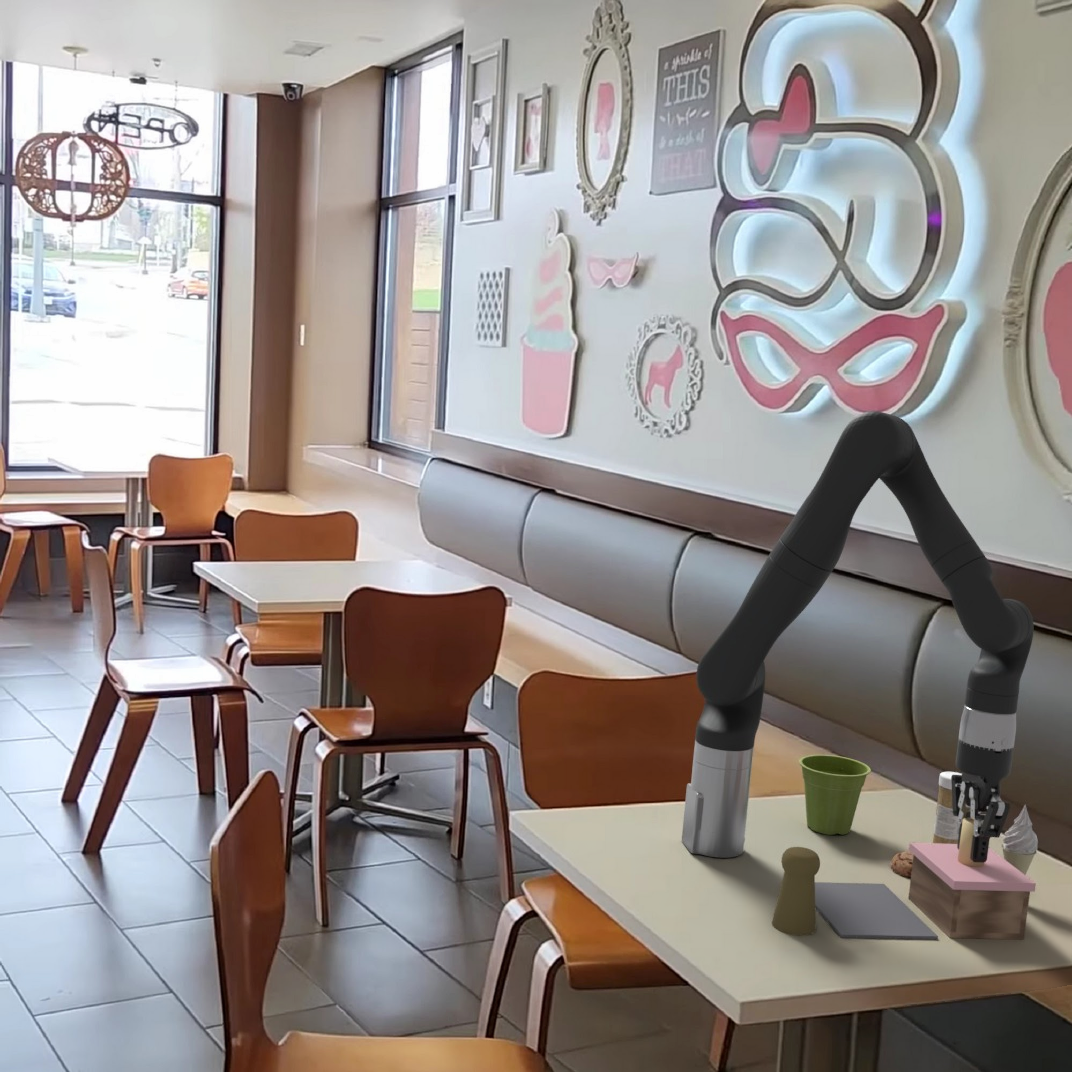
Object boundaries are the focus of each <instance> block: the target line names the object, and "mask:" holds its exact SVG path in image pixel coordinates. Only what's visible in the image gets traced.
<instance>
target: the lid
mask: <svg viewBox="0 0 1072 1072" xmlns="http://www.w3.org/2000/svg"><path fill="white" fill-rule="evenodd" d="M983 821H984V820H982V821H981V826H982V824H983ZM973 835H974V820H973V819H972V818H964V819H963V821H962V829H961V837H960V845H959V849H958V848H957V844H940V843H933V842H932V843H931V842H909V845H908V851H910V852H911V853H912V854H913V855H915V856H916V857H917V858H918V859H919V860H920V861H921V862H923V863H924V864H925V865H926V866H927V867H928V868H929V869H930V870H932V871H933V872H934V873H935V874H936V875H937V876H938V877H940V878H941V879H942V880H943V881H944V882H945V883H946V884H948V885H949V886H950V887H951V888H952V889H953V890H990V891H1029V892H1030V893H1031V892H1032V893H1033V892H1035V891H1036V884H1037V883H1036V882H1035V881H1034V880H1032V879H1031V878H1030V877H1028V876H1027V874H1026V875H1024V874H1023V873H1022V872H1020V871H1019V870H1018V869H1016V868H1015V867H1014V866H1013V865H1011V864H1010V863H1009V862H1007V861H1006V860H1005V859H1004V857H1002V856H1001V855H999V854H998V853H997V852H996V851H994V850H993V849H992V848H990V846H989V847H988V855H987V861H986V862H984V863H982V862H973V861H972V860H971V859H970V855H971V847H972V839H973Z"/></svg>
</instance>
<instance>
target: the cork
mask: <svg viewBox="0 0 1072 1072" xmlns="http://www.w3.org/2000/svg"><path fill="white" fill-rule="evenodd" d="M781 866H782V869H783V871H784V872H783V876H782V880H781V885H780V888H779V892H778V896H777V900H776V904H775V907H774V912H773V916H772V920H771V926H772V927H773V928H775V929H776V930H778V931H779V932H781V933H785V934H788V935H793V936H809V935H812V934H814V933H816V932H817V919H816V918H817V917H816V908H815V882H816V881H815V879H816V878H815V877H816V875H817V874H818V873H819V870H820V867H821V861H820V857H819V854H818V853H817V852H816V851H814V850H812V849H810V848H807V847H803V846H790V847H788V848H786V849H785V851H784V852H783V853H782V855H781Z"/></svg>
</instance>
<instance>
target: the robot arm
mask: <svg viewBox="0 0 1072 1072" xmlns="http://www.w3.org/2000/svg"><path fill="white" fill-rule="evenodd" d="M879 479H880V480H881V482H882V483H883V484H884V485H885V486H886V487H887V488H888V490H889V491H891V493H892V494H893V495H894V497H895V498H896V500H897V501H898V502H899V504H900V505H901V507H902V508H903V510H904V513H905V514H906V516H907V519H908V521H909V523H910V525H911V528H912V530H913V533H914V535H915V539H916V541H917V542H918V543H917V544H918V545H919V547H920V549H921V551H922V554H923V555H924V557H925V559H926V560H927V562H928V564H929V565H930V567H931V569H933V571H934V573H935V574H936V575H937V577H938V579H939V580H940V582H941V583H942V584H943V586H944V588H945V589H946V591H947V592H948V593H949V596H950V598H951V603H952V605H953V607H954V611H955V612H956V615H957V617H958V619H959V622H960V623H961V626H962V628H963V631H965V633H966V635H967V636H968V638H969V639H970V641H972V642H973V644H974V645H976V646H977V647H978V648H979V649H980V654H979V658H978V661H977V663H976V664H975V665H974V666H973V667H971V669H970V672H969V673H968V677H967V682H966V692H965V698H964V707H963V710H962V714H961V718H960V724H959V733H958V740H957V746H956V747H957V749H956V755H955V764H954V765H955V767H956V769H958V771H960V772H962V773H961V774H962V775H952V777H951V783H952V806H953V815H954V816H957V817H958V824H959V825H960V828H959V836H958V844H957V848H958V849H959V845H960V837H961V829H962V821H963V819H964V818H972V819H973V820H974V835H973V839H972V847H971V855H970V859H971V860H972V861H973V862H982V863H984V862H986V861H987V855H988V847H989V848H990V839H991V838H1000V837H1001V834H1002V831H1003V828H1004V825H1005V823H1006V820H1007V818H1008V815H1009V812H1010V809H1011V805H1010V802H1008V801H1003V800H1002V799H1001V792H1002V791H1001V781H1002V779H1004V778H1007V777H1009V776H1010V775H1011V772H1012V771H1011V770H1012V764H1013V757H1014V749H1015V741H1016V733H1017V709H1018V701H1019V695H1020V694H1019V693H1020V682H1021V678H1022V676H1023V672H1024V671H1025V667H1026V665H1027V664H1026V663H1027V661H1028V657H1029V653H1030V651H1031V647H1032V643H1033V638H1034V628H1035V627H1034V626H1035V625H1034V619H1033V615H1032V613H1031V611H1030V609H1029V608H1028V607H1027V605H1025V604H1024V603H1023V602H1021V601H1019V600H1016V599H1012V598H1003V599H1002V598H1001V595H1000V594H999V592H998V590H997V588H996V587H995V585H994V583H993V581H992V580H993V577H994V569H993V566H992V565H991V562H990V561H989V559H987V557H986V555H985V554H984V552H983V550H982V549H981V548H980V547H979V545H978V543H977V542H976V540H975V539H974V537H973V536H972V534H971V533H970V531H969V530H968V529H967V527H966V526H965V525H964V523H963V521H962V519H960V518H959V516H958V514H957V513H956V511H955V510H954V508H953V507H952V505H951V503H950V502H949V500H948V498H947V497H946V496H945V494H944V493H943V490H942V488H941V487H940V485H939V483H938V482H937V479H936V478H935V475H934V474H933V472H932V469H931V468H930V466H929V464H928V461H927V459H926V456H925V454H924V452H923V450H922V448H921V445H920V443H919V441H918V439H917V437H916V435H915V433H914V431H913V428H912V427H911V426H910V424H909V423H908V422H906V421H905V420H904V419H902V418H901V417H899V416H896V415H893V414H890V413H886V412H882V411H879V410H870V411H866V412H863V413H859V414H858V415H857V416H856V417H853V418H852V419H851V420H850V421H849V422H848V424H847V425H846V427H844V429H843V431H842V432H841V434H840V435H839V438H838V440H837V442H836V445H835V447H834V449H833V451H832V452H831V455H830V456H829V459H828V460H827V462H826V465H825V466H824V469H823V470H822V472H821V475H819V478H818V479H817V481H816V483H815V485H814V487H813V488H812V489H811V491H810V493H809V494H808V495H807V497H806V498H805V500H804V501H803V502H802V504H801V506H800V507H799V508H798V510H797V512H796V513H795V515H794V516H793V518H792V520H791V521H790V523H789V524H788V525H787V527H786V528H785V530H784V531H783V533H782V534H781V536H780V537H779V539H778V540H777V542H776V543H775V545H774V547H773V548H772V550H771V551H770V553H769V554H768V556H767V558H766V560H765V561H764V564H763V565H762V566H761V567H760V570H759V571H758V573H757V575H756V577H755V578H754V581H753V582H752V584H751V586H750V588H749V589H748V591H747V593H746V596H745V597H744V598H743V601H742V603H741V605H740V606H739V608H738V610H737V611H736V613H735V615H734V616H733V618H732V619H731V620H730V621H729V623H728V624H727V625H726V627H725V628H724V630H723V631H722V632H721V633H720V634H719V636H718V637H717V638H716V640H715V641H714V642H713V644H712V645H710V646H709V648H708V649H707V650H706V652H705V653H704V654H703V655H702V657H701V658H700V660H699V662H698V664H697V667H696V677H695V678H696V679H695V680H696V685H697V688H698V691H699V693H700V694H701V696H702V697H703V698H704V699H705V701H704V706H703V709H702V712H701V715H700V717H699V719H698V721H697V723H696V728H695V740H694V749H693V758H692V759H693V760H692V770H691V771H692V772H691V781H690V783H689V782H688V783H687V784H686V791H685V792H686V793H685V801H684V811H683V821H682V822H683V823H682V830H681V831H682V833H681V842H682V843H683V845H684V846H685V847H686V848H687V850H688V851H689V852H690V854H697V855H703V856H706V857H712V858H734V857H738V856H741V855H742V854H743V853H744V846H745V845H744V844H745V840H746V838H745V837H746V835H745V834H746V826H747V819H748V809H749V808H748V807H749V798H750V788H751V780H752V779H751V777H752V770H753V769H752V767H753V760H754V759H753V758H754V749H755V740H756V735H757V732H758V729H759V726H760V722H761V716H762V709H763V701H764V694H765V693H764V692H765V685H766V664H765V659H767V656H768V654H769V653H770V651H771V650H772V648H773V646H774V644H775V643H776V642H777V640H778V639H779V638H780V636H781V635H782V634H783V633H784V632H785V631H786V630H787V629H788V627H789V626H790V625H791V624H792V623H793V622H794V621H796V619H797V618H798V617H799V616H801V613H803V611H804V610H805V609H806V608H807V606H808V605H810V603H811V602H812V601H813V599H814V598H815V597H816V596H817V594H818V593H819V591H820V590H821V589H822V588H823V586H824V585H825V583H826V582H827V580H828V578H829V577H830V576H831V574H832V572H833V571H834V569H835V567H836V566H837V563H839V560H840V558H841V557H842V556H841V555H842V553H843V551H844V548H845V545H846V541H847V538H848V535H849V532H850V527H851V525H852V521H853V519H854V516H855V515H856V514H855V513H856V511H857V510H858V509H859V506H860V505H861V503H862V501H863V500H864V498H865V497H866V496H867V494H868V493H869V492H870V490H871V489H872V487H873V486H874V485H875V484H876V483H877V481H879ZM981 813H982V814H981ZM983 813H985V814H983ZM982 820H984V821H983V824H982V826H981V821H982Z"/></svg>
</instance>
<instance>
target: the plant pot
mask: <svg viewBox="0 0 1072 1072" xmlns="http://www.w3.org/2000/svg"><path fill="white" fill-rule="evenodd" d="M798 765H800V766H801V772H802V773H801V774H802V778H803V784H804V786H803V787H804V798H805V800H804V801H805V813H806V814H805V815H806V826H807V827H809V828H810V829H811V830H812V831H814V832H816V833H818V834H824V835H827V836H834V835H838V834H839V835H841V836H843V835H846V834H849V833H850V831H851V829H852V825H853V822H854V818H855V814H856V811H857V807H858V804H859V799H860V795H861V791H862V788H863V787H864V785H865V782H866V780H867V779H866V778H867V776H868V775H869V774H870V773H871V771H872V770H871V768H870V766H868V765H867V764H866V763H864V762H862V761H859V760H856V759H853V758H849V757H844V756H839V755H833V754H832V755H831V754H811V755H806V756H803V757H800V758H799V760H798Z"/></svg>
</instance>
